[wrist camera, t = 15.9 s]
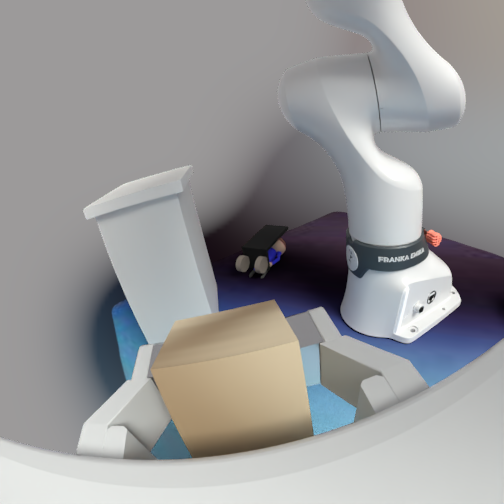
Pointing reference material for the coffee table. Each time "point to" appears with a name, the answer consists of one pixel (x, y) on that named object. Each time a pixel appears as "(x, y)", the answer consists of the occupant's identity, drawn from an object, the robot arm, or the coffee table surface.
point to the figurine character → (262, 250)
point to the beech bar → (234, 381)
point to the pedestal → (158, 250)
